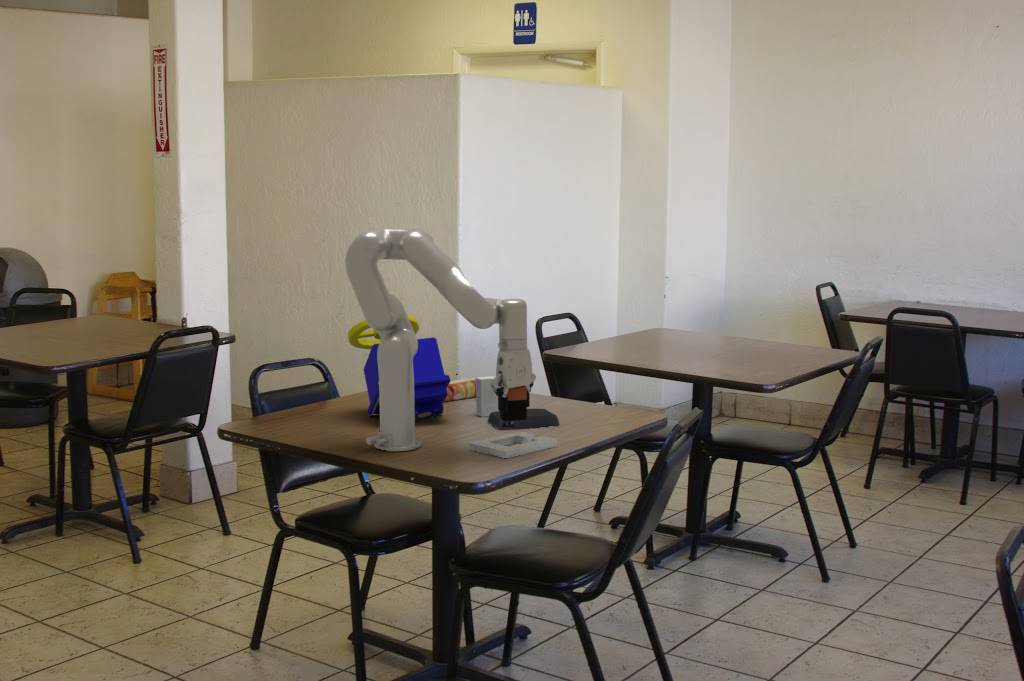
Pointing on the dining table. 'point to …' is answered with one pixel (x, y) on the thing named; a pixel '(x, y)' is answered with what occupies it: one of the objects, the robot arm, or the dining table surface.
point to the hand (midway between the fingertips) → (513, 408)
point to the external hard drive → (534, 420)
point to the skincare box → (485, 396)
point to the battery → (516, 404)
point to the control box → (425, 366)
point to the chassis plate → (526, 439)
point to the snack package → (461, 389)
